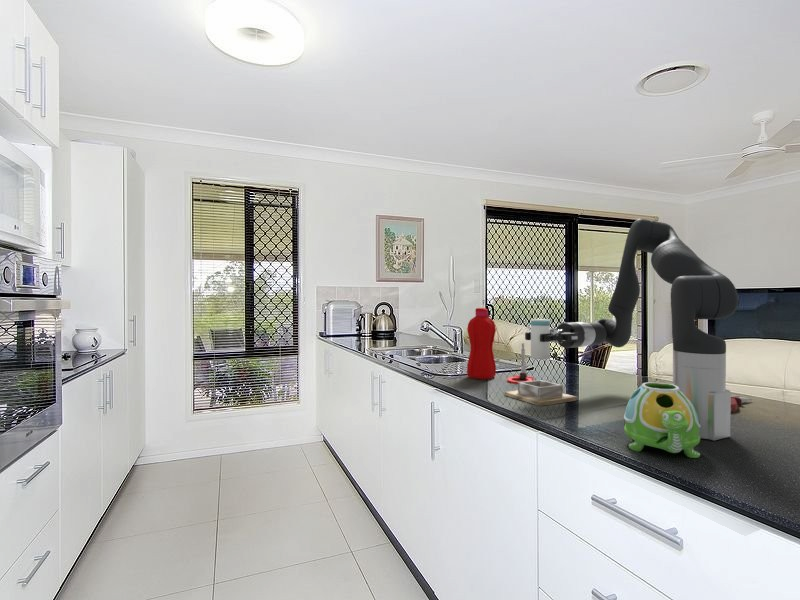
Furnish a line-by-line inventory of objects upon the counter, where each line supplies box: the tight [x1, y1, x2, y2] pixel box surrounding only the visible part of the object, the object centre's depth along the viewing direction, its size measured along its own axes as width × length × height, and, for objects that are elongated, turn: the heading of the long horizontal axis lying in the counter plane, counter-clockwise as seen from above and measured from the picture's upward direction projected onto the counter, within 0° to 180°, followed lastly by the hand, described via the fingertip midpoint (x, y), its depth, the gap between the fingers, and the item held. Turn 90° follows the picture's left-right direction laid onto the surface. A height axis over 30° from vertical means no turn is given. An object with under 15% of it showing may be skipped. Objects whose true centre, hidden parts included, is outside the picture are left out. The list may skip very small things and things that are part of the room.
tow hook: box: [506, 342, 534, 385], centre depth 147 cm, size 8×13×9 cm
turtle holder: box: [623, 381, 701, 459], centre depth 80 cm, size 12×18×12 cm
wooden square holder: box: [503, 379, 578, 407], centre depth 123 cm, size 14×14×4 cm
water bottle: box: [466, 307, 500, 381], centre depth 154 cm, size 9×11×25 cm
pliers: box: [731, 395, 753, 413], centre depth 116 cm, size 12×20×3 cm, turn 115°
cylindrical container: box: [530, 318, 551, 360], centre depth 123 cm, size 5×5×11 cm
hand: (533, 337), depth 122 cm, fingers closed on cylindrical container, 5 cm apart
